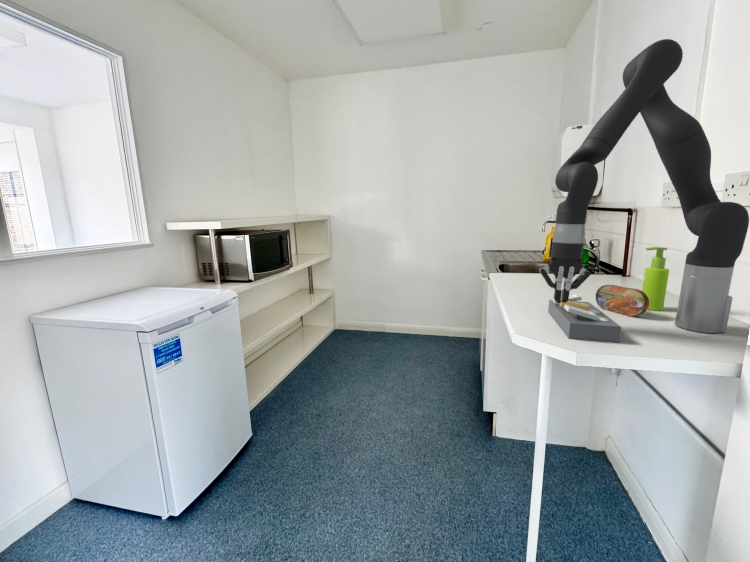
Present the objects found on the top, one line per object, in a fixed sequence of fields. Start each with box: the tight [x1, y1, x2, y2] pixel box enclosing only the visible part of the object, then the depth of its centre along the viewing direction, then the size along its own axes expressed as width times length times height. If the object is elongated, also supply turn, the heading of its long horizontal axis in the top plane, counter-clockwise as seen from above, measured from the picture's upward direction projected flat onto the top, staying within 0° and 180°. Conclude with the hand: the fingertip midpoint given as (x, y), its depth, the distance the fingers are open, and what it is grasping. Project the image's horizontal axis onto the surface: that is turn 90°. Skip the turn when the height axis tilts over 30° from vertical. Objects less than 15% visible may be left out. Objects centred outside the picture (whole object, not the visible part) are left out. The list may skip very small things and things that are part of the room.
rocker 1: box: [551, 293, 582, 305], centre depth 102 cm, size 7×4×1 cm, turn 75°
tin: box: [595, 284, 649, 317], centre depth 107 cm, size 15×3×8 cm, turn 20°
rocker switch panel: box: [547, 299, 622, 343], centre depth 95 cm, size 11×24×5 cm, turn 165°
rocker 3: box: [564, 304, 598, 320], centre depth 89 cm, size 7×4×1 cm, turn 75°
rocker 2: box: [558, 301, 590, 311], centre depth 95 cm, size 7×4×1 cm, turn 75°
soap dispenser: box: [641, 246, 670, 312], centre depth 109 cm, size 6×7×20 cm
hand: (560, 302), depth 96 cm, fingers closed
